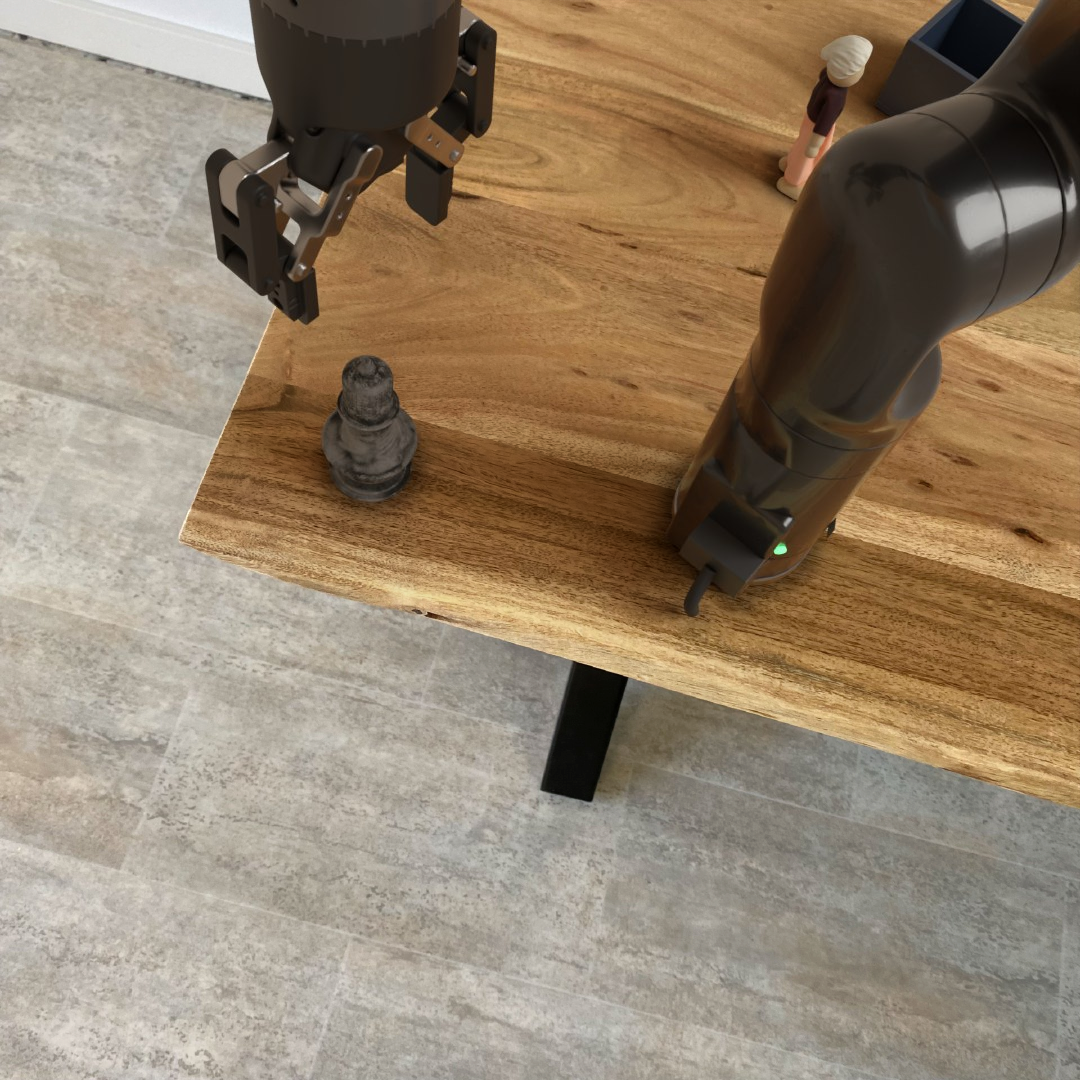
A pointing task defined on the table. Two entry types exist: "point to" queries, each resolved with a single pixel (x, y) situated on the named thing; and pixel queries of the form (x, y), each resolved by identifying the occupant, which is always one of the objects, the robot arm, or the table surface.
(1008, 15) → the bin
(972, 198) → the robot arm
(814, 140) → the grandmother figurine
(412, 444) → the grey chess piece
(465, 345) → the table surface
